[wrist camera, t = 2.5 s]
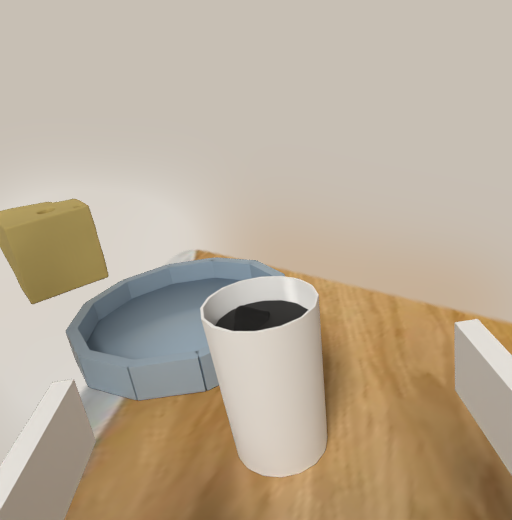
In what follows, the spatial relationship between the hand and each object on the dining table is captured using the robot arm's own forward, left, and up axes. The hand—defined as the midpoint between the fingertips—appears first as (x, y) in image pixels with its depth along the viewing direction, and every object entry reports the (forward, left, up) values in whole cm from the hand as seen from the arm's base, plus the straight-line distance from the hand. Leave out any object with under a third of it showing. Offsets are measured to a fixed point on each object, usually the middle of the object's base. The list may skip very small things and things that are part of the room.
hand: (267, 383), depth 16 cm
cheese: (-45, +25, -12) cm, 53 cm away
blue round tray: (-20, +19, -12) cm, 30 cm away
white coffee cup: (-5, +9, -12) cm, 16 cm away
